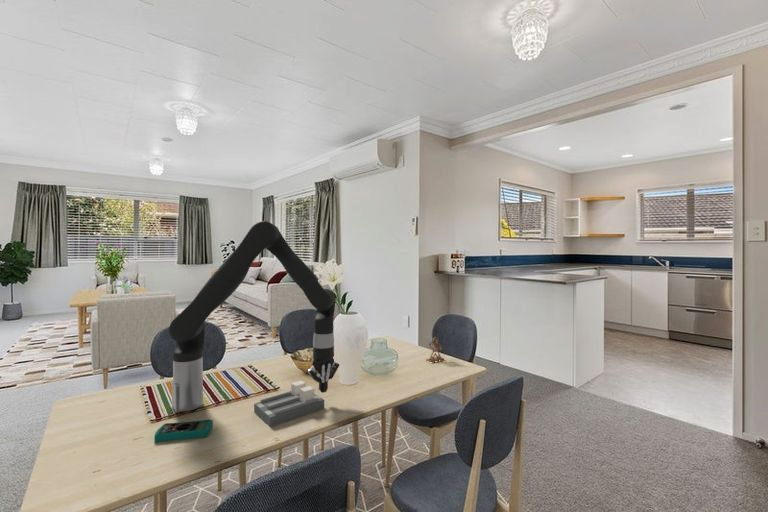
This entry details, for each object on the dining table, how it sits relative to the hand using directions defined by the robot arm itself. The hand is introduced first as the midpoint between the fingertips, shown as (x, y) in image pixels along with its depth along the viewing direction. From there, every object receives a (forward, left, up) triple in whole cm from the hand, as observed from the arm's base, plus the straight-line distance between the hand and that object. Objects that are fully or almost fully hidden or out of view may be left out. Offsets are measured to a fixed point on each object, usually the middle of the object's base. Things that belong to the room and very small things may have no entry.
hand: (323, 391), depth 130 cm
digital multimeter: (-43, +9, -5) cm, 44 cm away
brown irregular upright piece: (+68, +5, -5) cm, 69 cm away
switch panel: (-12, +3, -4) cm, 13 cm away
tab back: (-7, +6, -1) cm, 9 cm away
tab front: (-7, 0, -1) cm, 7 cm away
